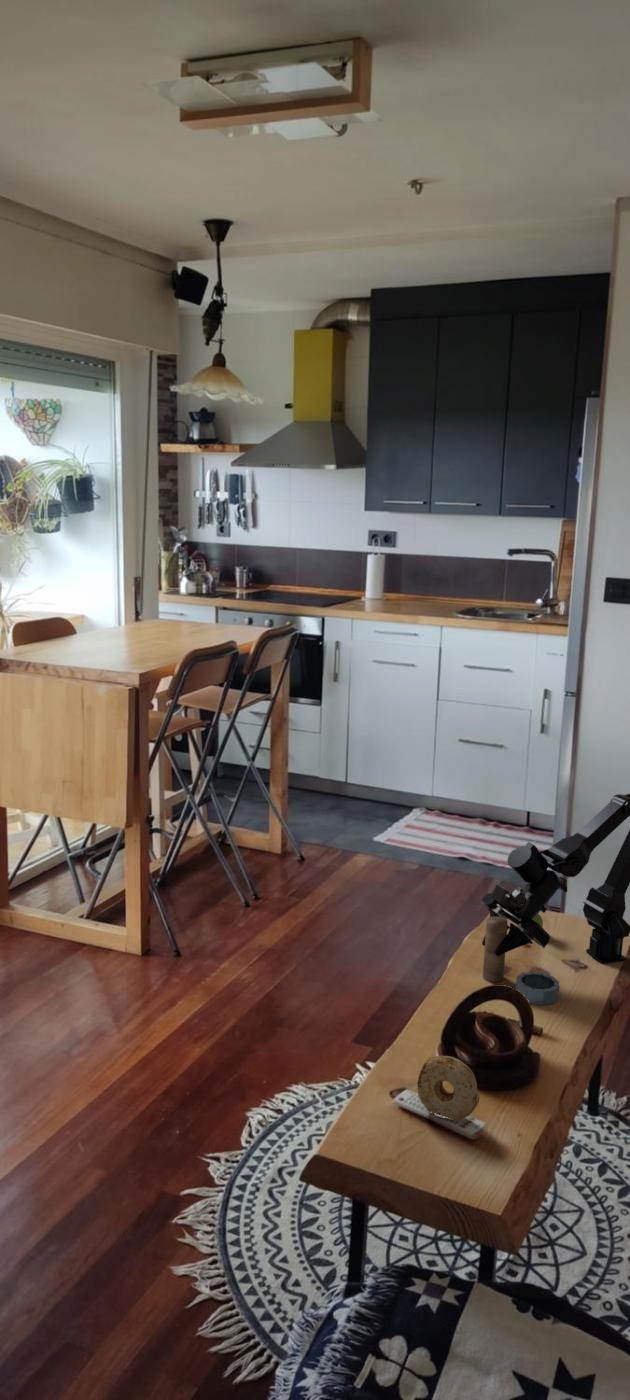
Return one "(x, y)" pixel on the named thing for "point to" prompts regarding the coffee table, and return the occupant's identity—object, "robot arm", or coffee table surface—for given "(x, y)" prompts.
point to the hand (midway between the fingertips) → (489, 949)
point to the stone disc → (437, 1097)
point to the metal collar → (538, 980)
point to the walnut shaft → (494, 949)
